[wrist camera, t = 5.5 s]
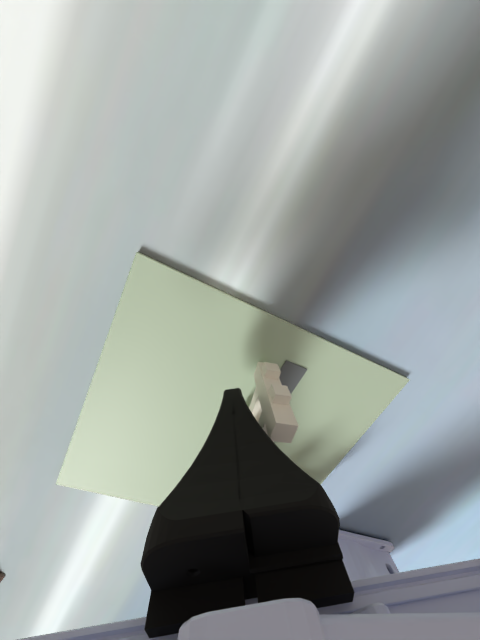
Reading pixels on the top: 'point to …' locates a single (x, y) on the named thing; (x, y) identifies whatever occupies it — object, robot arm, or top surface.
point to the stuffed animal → (1, 576)
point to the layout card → (208, 386)
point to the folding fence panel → (273, 404)
